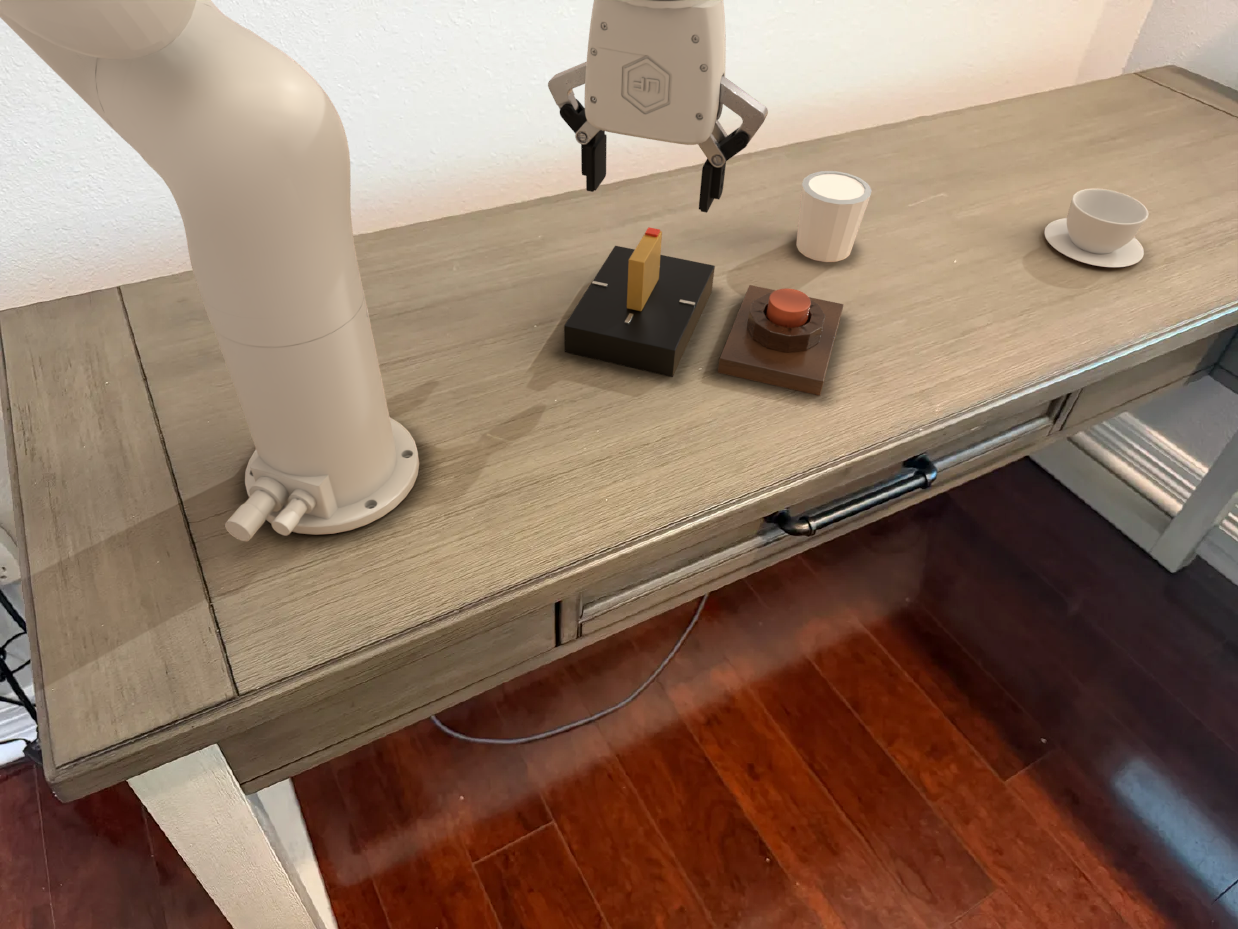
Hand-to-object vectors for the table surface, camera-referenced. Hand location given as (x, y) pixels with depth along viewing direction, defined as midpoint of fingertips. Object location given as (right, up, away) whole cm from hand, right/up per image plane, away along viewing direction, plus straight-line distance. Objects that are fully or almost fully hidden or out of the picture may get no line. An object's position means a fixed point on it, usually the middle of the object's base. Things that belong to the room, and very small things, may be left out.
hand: (651, 193), depth 74 cm
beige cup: (+19, 0, +19) cm, 27 cm away
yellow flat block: (0, -7, +7) cm, 10 cm away
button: (+12, -9, +4) cm, 16 cm away
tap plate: (-1, -9, +9) cm, 13 cm away
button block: (+12, -12, +7) cm, 18 cm away
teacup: (+48, +1, +21) cm, 52 cm away
